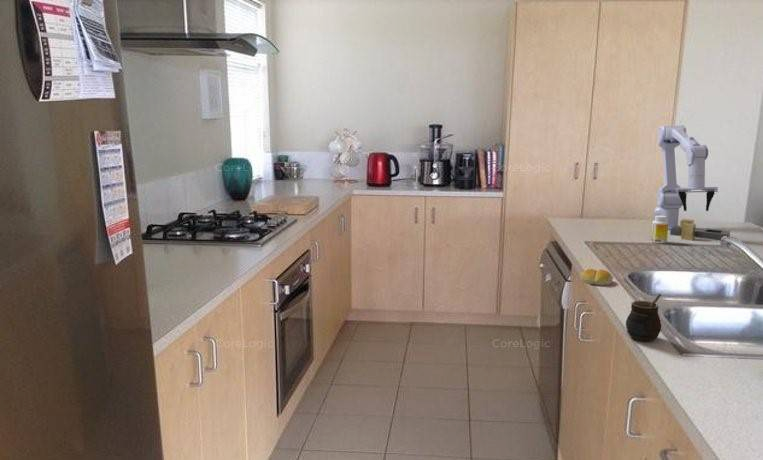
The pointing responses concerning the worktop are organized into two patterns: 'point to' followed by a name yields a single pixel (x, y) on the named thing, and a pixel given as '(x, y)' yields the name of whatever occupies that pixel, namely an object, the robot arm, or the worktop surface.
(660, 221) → the supplement bottle
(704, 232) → the rail
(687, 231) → the tan wooden block
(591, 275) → the bread roll
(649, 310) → the mate gourd
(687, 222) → the beige wooden block
